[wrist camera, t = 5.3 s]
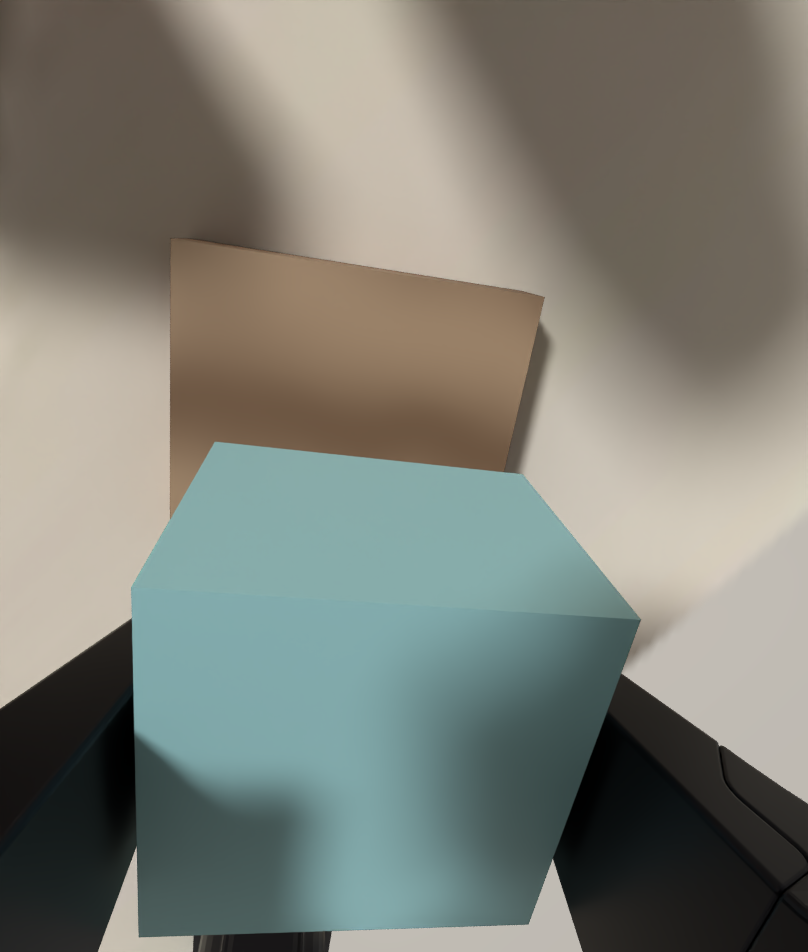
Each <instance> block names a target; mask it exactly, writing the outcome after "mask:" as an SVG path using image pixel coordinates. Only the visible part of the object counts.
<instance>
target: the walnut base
mask: <svg viewBox="0 0 808 952" xmlns="http://www.w3.org/2000/svg"><path fill="white" fill-rule="evenodd" d="M544 298H545V297H542V296H538V295H535V294H531V293H527V292H524V291H518V290H512V289H506V288H499V287H493V286H487V285H480V284H474V283H468V282H461V281H455V280H449V279H442V278H436V277H430V276H423V275H417V274H411V273H404V272H398V271H392V270H385V269H379V268H373V267H366V266H360V265H354V264H347V263H341V262H335V261H328V260H322V259H316V258H309V257H303V256H297V255H290V254H284V253H278V252H271V251H265V250H259V249H252V248H246V247H240V246H233V245H227V244H221V243H214V242H208V241H202V240H195V239H189V238H183V239H171V254H170V519H171V517H172V516H173V514H174V512H175V510H176V509H177V507H178V505H179V503H180V502H181V500H182V498H183V496H184V495H185V493H186V491H187V489H188V488H189V486H190V484H191V482H192V481H193V479H194V477H195V476H196V474H197V472H198V470H199V469H200V467H201V465H202V463H203V462H204V460H205V458H206V456H207V455H208V453H209V451H210V449H211V448H212V446H213V444H214V442H223V443H233V444H242V445H251V446H261V447H270V448H280V449H289V450H299V451H308V452H317V453H327V454H336V455H346V456H355V457H365V458H374V459H383V460H393V461H402V462H412V463H421V464H431V465H440V466H449V467H459V468H468V469H478V470H487V471H496V472H504V469H505V465H506V461H507V456H508V452H509V448H510V443H511V439H512V435H513V431H514V426H515V422H516V418H517V413H518V409H519V405H520V401H521V396H522V392H523V388H524V383H525V379H526V375H527V371H528V366H529V362H530V358H531V353H532V349H533V345H534V340H535V336H536V332H537V328H538V323H539V319H540V315H541V310H542V306H543V302H544Z"/></svg>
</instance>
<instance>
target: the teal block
mask: <svg viewBox="0 0 808 952" xmlns="http://www.w3.org/2000/svg"><path fill="white" fill-rule="evenodd" d="M131 598H132V645H133V691H134V738H135V785H136V832H137V879H138V926H139V937H162V936H193V935H223V934H254V933H284V932H315V931H344V930H374V929H406V928H433V927H434V928H435V927H465V926H497V925H525V924H529V922H530V919H531V916H532V913H533V911H534V908H535V905H536V903H537V900H538V897H539V894H540V892H541V889H542V886H543V884H544V881H545V878H546V875H547V873H548V870H549V867H550V865H551V862H552V859H553V856H554V854H555V851H556V848H557V846H558V843H559V840H560V838H561V835H562V832H563V829H564V827H565V824H566V821H567V819H568V816H569V813H570V810H571V808H572V805H573V802H574V800H575V797H576V794H577V791H578V789H579V786H580V783H581V781H582V778H583V775H584V772H585V770H586V767H587V764H588V762H589V759H590V756H591V754H592V751H593V748H594V745H595V743H596V740H597V737H598V735H599V732H600V729H601V726H602V724H603V721H604V718H605V716H606V713H607V710H608V707H609V705H610V702H611V699H612V697H613V694H614V691H615V689H616V686H617V683H618V680H619V678H620V675H621V672H622V670H623V667H624V664H625V661H626V659H627V656H628V653H629V651H630V648H631V645H632V642H633V640H634V637H635V634H636V632H637V629H638V626H639V623H640V621H641V619H640V618H639V617H638V616H637V614H636V613H635V612H634V611H633V609H632V608H631V607H630V606H629V604H628V603H627V602H626V601H625V600H624V598H623V597H622V596H621V595H620V593H619V592H618V591H617V590H616V588H615V587H614V586H613V585H612V584H611V582H610V581H609V580H608V579H607V577H606V576H605V575H604V574H603V572H602V571H601V570H600V569H599V568H598V566H597V565H596V564H595V563H594V561H593V560H592V559H591V558H590V556H589V555H588V554H587V553H586V552H585V550H584V549H583V548H582V547H581V545H580V544H579V543H578V542H577V541H576V539H575V538H574V537H573V536H572V534H571V533H570V532H569V531H568V529H567V528H566V527H565V526H564V525H563V523H562V522H561V521H560V520H559V518H558V517H557V516H556V515H555V513H554V512H553V511H552V510H551V509H550V507H549V506H548V505H547V504H546V502H545V501H544V500H543V499H542V497H541V496H540V495H539V494H538V493H537V491H536V490H535V489H534V488H533V486H532V485H531V484H530V483H529V481H528V480H527V479H526V478H525V477H524V475H523V474H515V473H506V472H496V471H487V470H478V469H468V468H459V467H449V466H440V465H431V464H421V463H412V462H402V461H393V460H383V459H374V458H365V457H355V456H346V455H336V454H327V453H317V452H308V451H299V450H289V449H280V448H270V447H261V446H251V445H242V444H233V443H223V442H214V444H213V446H212V448H211V449H210V451H209V453H208V455H207V456H206V458H205V460H204V462H203V463H202V465H201V467H200V469H199V470H198V472H197V474H196V476H195V477H194V479H193V481H192V482H191V484H190V486H189V488H188V489H187V491H186V493H185V495H184V496H183V498H182V500H181V502H180V503H179V505H178V507H177V509H176V510H175V512H174V514H173V516H172V517H171V519H170V521H169V523H168V524H167V526H166V528H165V529H164V531H163V533H162V535H161V536H160V538H159V540H158V542H157V543H156V545H155V547H154V549H153V550H152V552H151V554H150V556H149V557H148V559H147V561H146V563H145V564H144V566H143V568H142V569H141V571H140V573H139V575H138V576H137V578H136V580H135V582H134V583H133V585H132V587H131Z"/></svg>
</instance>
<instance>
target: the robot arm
mask: <svg viewBox="0 0 808 952" xmlns="http://www.w3.org/2000/svg"><path fill="white" fill-rule="evenodd" d="M136 846H137V832H136V785H135V738H134V691H133V645H132V618H131V619H130V620H128V621H127V622H126V623H124V624H123V625H121V626H120V627H118V628H117V629H115V630H114V631H112V632H111V633H110V634H108V635H107V636H105V637H104V638H102V639H101V640H99V641H98V642H96V643H95V644H94V645H92V646H91V647H89V648H88V649H86V650H85V651H83V652H82V653H80V654H79V655H78V656H76V657H75V658H73V659H72V660H70V661H69V662H67V663H66V664H64V665H63V666H62V667H60V668H59V669H57V670H56V671H54V672H53V673H51V674H50V675H49V676H47V677H46V678H44V679H43V680H41V681H40V682H38V683H37V684H35V685H34V686H33V687H31V688H30V689H28V690H27V691H25V692H24V693H22V694H21V695H19V696H18V697H17V698H15V699H14V700H12V701H11V702H9V703H8V704H6V705H5V706H3V707H2V708H1V709H0V952H98V950H99V947H100V944H101V941H102V939H103V936H104V933H105V931H106V928H107V925H108V922H109V920H110V917H111V914H112V912H113V909H114V906H115V903H116V901H117V898H118V895H119V892H120V890H121V887H122V884H123V882H124V879H125V876H126V873H127V871H128V868H129V865H130V863H131V860H132V857H133V854H134V852H135V849H136ZM553 860H554V863H555V866H556V870H557V873H558V876H559V879H560V882H561V885H562V888H563V892H564V894H565V898H566V901H567V904H568V907H569V910H570V913H571V916H572V920H573V923H574V926H575V929H576V932H577V935H578V938H579V941H580V945H581V948H582V951H583V952H808V804H807V803H806V802H804V801H803V800H801V799H800V798H798V797H797V796H795V795H794V794H792V793H790V792H789V791H787V790H786V789H784V788H783V787H781V786H780V785H778V784H777V783H775V782H774V781H772V780H771V779H770V778H768V777H767V776H765V775H764V774H762V773H761V772H760V771H758V770H757V769H755V768H754V767H752V766H751V765H749V764H748V763H746V762H745V761H744V760H742V759H741V758H739V757H738V756H737V755H735V754H734V753H733V752H731V751H730V750H728V749H727V748H726V747H724V746H719V745H718V742H717V741H715V740H714V739H713V738H711V737H710V736H709V735H707V734H705V733H704V732H703V731H701V730H700V729H699V728H697V727H696V726H694V725H693V724H692V723H690V722H689V721H687V720H686V719H684V718H683V717H682V716H680V715H679V714H677V713H676V712H675V711H673V710H672V709H671V708H669V707H668V706H666V705H665V704H663V703H662V702H661V701H659V700H658V699H656V698H655V697H654V696H652V695H651V694H649V693H648V692H647V691H645V690H644V689H642V688H641V687H639V686H638V685H637V684H635V683H634V682H632V681H631V680H630V679H628V678H627V677H625V676H624V675H623V674H621V675H620V678H619V680H618V683H617V686H616V689H615V691H614V694H613V697H612V699H611V702H610V705H609V707H608V710H607V713H606V716H605V718H604V721H603V724H602V726H601V729H600V732H599V735H598V737H597V740H596V743H595V745H594V748H593V751H592V754H591V756H590V759H589V762H588V764H587V767H586V770H585V772H584V775H583V778H582V781H581V783H580V786H579V789H578V791H577V794H576V797H575V800H574V802H573V805H572V808H571V810H570V813H569V816H568V819H567V821H566V824H565V827H564V829H563V832H562V835H561V838H560V840H559V843H558V846H557V848H556V851H555V854H554V856H553ZM331 932H332V931H315V932H284V933H254V934H223V935H194V941H193V952H328V950H329V944H330V938H331Z"/></svg>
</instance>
